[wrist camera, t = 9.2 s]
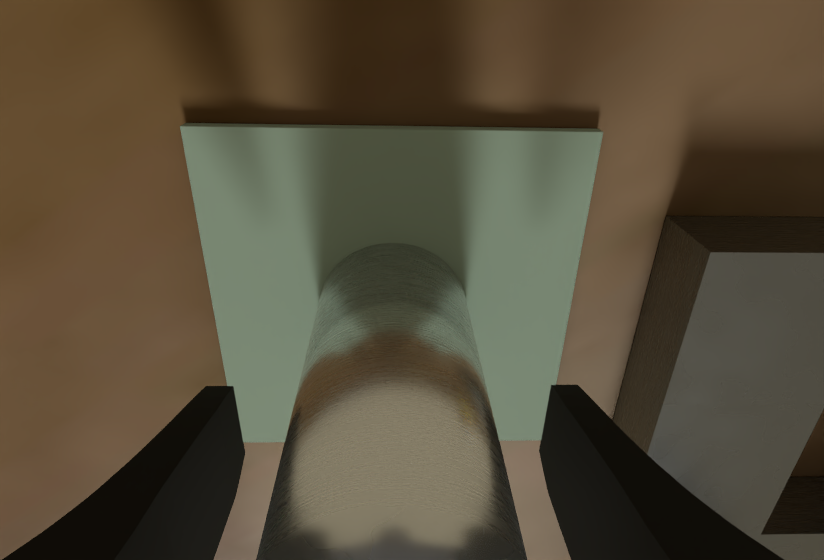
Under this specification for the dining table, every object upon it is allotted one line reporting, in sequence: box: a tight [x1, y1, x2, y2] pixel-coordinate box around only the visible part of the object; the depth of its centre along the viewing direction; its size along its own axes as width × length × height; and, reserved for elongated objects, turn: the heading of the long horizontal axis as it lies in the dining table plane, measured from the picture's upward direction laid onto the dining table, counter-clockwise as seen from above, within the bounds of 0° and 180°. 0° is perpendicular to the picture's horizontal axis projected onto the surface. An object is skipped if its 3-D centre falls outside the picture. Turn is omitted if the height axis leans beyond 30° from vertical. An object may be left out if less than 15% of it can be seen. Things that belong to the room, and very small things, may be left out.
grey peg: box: [256, 243, 527, 560], centre depth 13 cm, size 4×4×9 cm
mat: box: [180, 123, 603, 442], centre depth 17 cm, size 11×11×1 cm
